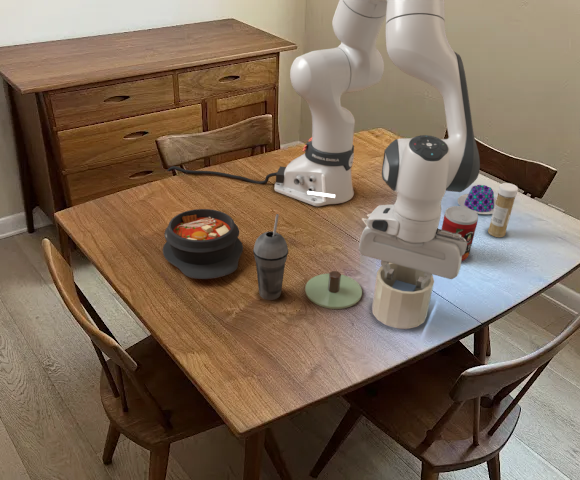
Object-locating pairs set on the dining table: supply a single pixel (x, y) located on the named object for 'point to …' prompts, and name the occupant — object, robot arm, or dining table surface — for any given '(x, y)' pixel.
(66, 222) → the dining table surface
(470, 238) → the canned food
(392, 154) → the robot arm
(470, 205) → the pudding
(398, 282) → the block
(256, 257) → the beverage cup
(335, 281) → the lid
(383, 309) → the jar
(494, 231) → the sprinkles bottle
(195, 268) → the casserole
